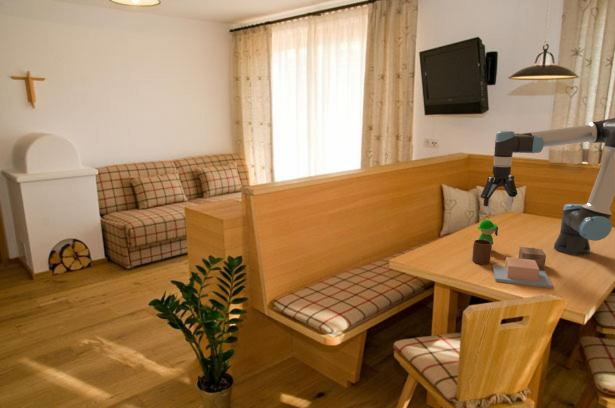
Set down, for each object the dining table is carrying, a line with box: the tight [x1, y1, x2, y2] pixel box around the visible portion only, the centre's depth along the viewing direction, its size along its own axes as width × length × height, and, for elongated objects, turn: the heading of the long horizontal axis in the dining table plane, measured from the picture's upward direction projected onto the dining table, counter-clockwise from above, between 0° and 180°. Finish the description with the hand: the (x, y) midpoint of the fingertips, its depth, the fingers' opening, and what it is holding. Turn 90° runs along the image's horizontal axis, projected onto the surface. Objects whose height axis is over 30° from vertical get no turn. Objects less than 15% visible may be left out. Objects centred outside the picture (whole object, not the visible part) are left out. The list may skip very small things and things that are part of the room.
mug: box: [471, 239, 493, 265], centre depth 194 cm, size 12×8×9 cm, turn 146°
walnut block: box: [518, 246, 547, 271], centre depth 188 cm, size 9×9×7 cm
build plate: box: [492, 256, 553, 289], centre depth 175 cm, size 20×16×6 cm
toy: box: [477, 219, 499, 245], centre depth 208 cm, size 9×9×15 cm
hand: (497, 211), depth 197 cm, fingers open, 13 cm apart
